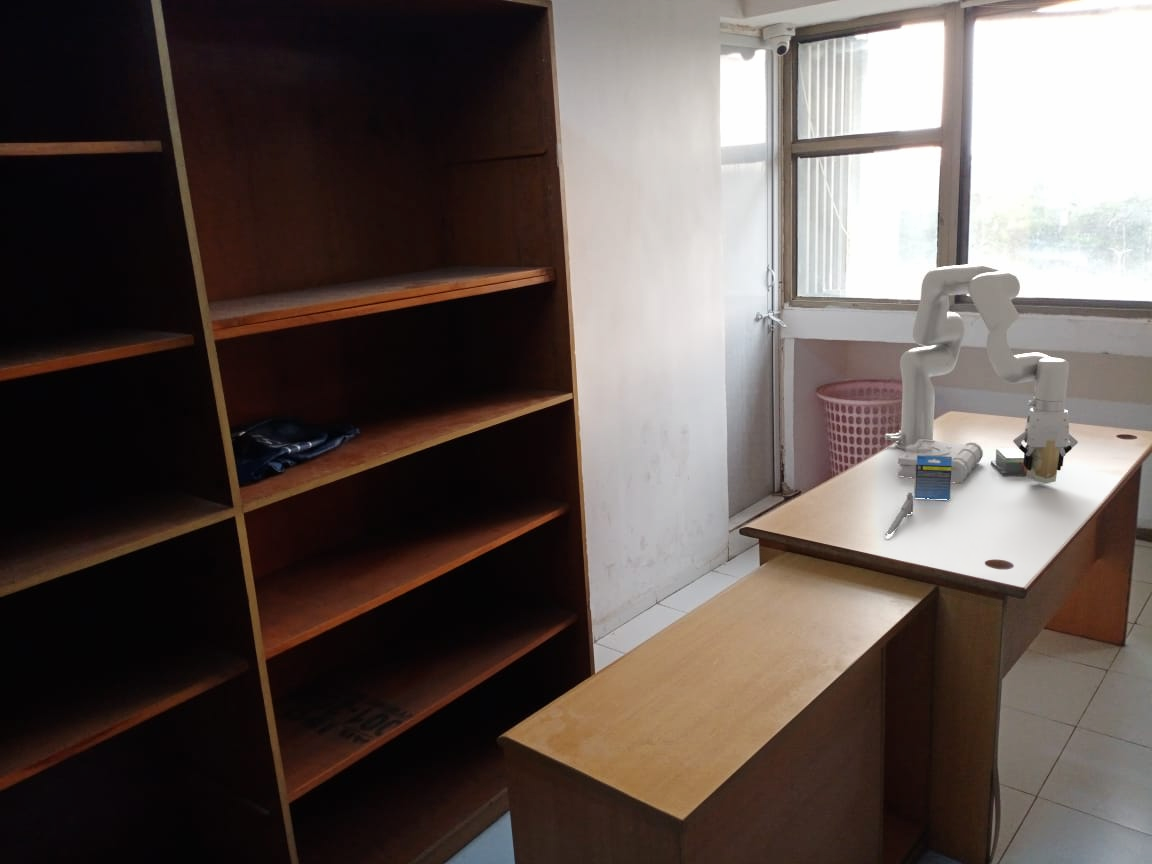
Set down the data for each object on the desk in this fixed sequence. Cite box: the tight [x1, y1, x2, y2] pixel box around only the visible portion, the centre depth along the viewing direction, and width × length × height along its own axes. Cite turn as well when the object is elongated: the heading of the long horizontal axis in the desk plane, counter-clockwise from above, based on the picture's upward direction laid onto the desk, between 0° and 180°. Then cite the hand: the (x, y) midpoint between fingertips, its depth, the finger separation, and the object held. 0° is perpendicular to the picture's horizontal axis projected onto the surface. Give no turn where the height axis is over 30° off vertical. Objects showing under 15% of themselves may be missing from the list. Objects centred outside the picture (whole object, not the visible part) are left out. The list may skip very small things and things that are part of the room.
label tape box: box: [913, 455, 952, 500], centre depth 244 cm, size 9×4×12 cm, turn 72°
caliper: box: [886, 492, 914, 534], centre depth 227 cm, size 20×1×6 cm, turn 145°
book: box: [897, 439, 984, 484], centre depth 271 cm, size 19×28×8 cm
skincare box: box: [1025, 440, 1060, 485], centre depth 249 cm, size 6×4×12 cm
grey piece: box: [990, 447, 1027, 477], centre depth 265 cm, size 12×12×5 cm
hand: (1042, 468), depth 250 cm, fingers closed on skincare box, 6 cm apart
